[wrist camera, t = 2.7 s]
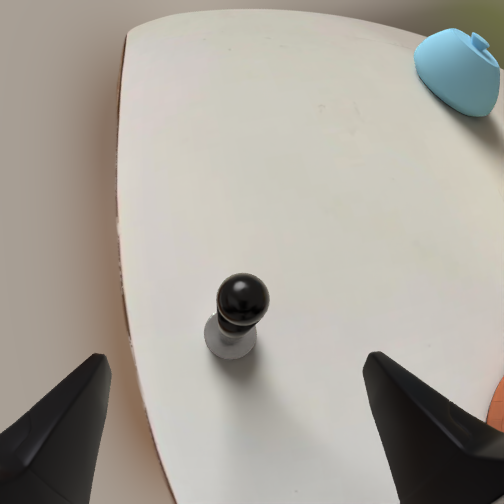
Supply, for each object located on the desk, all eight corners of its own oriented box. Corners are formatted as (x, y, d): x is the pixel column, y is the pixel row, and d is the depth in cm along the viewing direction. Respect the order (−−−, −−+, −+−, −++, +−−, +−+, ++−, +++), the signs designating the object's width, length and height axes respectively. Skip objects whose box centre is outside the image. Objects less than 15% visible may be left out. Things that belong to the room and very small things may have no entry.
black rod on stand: (260, 351, 19) (326, 334, 7) (213, 365, 19) (199, 376, 7) (245, 306, 20) (284, 220, 8) (199, 319, 20) (166, 250, 8)
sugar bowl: (414, 91, 32) (451, 30, 21) (404, 46, 37) (429, -3, 26) (492, 138, 32) (534, 92, 21) (472, 85, 37) (501, 44, 26)
